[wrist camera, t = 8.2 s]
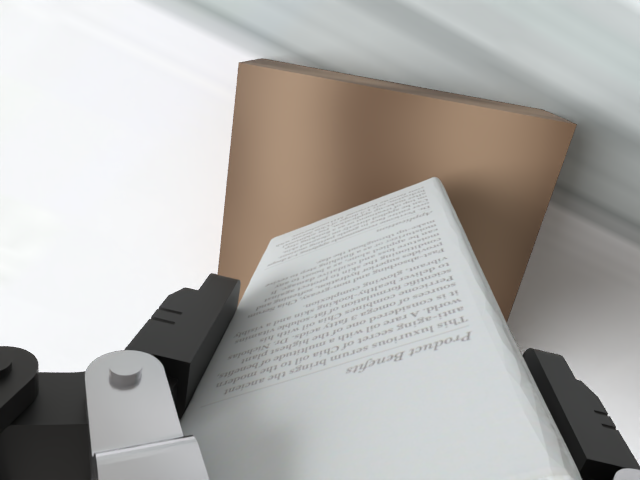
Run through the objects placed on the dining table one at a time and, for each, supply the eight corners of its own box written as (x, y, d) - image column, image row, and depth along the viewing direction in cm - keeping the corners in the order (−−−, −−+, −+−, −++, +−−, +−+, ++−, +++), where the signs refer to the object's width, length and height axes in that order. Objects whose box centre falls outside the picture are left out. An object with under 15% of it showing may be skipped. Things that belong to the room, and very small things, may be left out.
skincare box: (319, 337, 19) (232, 772, 8) (269, 235, 17) (78, 580, 6) (483, 284, 17) (668, 729, 6) (442, 170, 16) (581, 470, 5)
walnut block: (539, 108, 20) (577, 124, 16) (463, 344, 24) (479, 399, 20) (264, 58, 20) (238, 62, 17) (235, 298, 25) (210, 344, 21)
